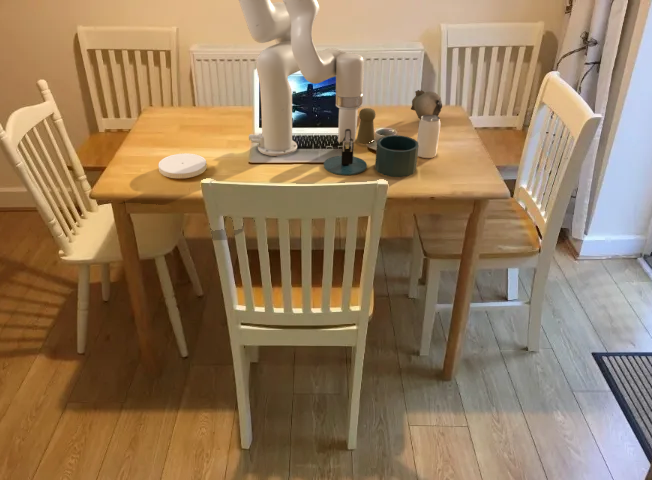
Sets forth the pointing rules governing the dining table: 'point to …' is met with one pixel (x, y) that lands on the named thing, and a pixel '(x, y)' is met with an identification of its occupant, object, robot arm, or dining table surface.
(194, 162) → the plastic lid
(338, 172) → the lid
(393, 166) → the pot
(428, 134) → the can
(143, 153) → the dining table surface
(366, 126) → the cork
